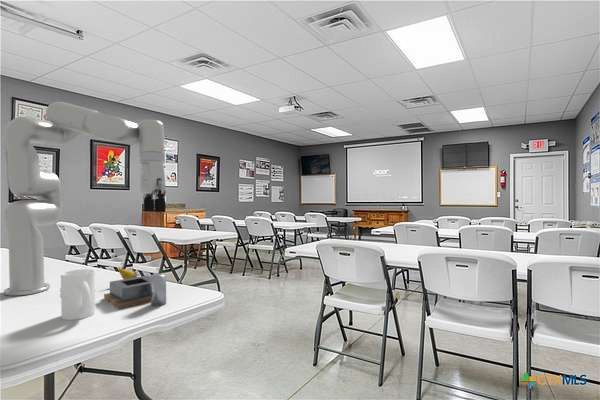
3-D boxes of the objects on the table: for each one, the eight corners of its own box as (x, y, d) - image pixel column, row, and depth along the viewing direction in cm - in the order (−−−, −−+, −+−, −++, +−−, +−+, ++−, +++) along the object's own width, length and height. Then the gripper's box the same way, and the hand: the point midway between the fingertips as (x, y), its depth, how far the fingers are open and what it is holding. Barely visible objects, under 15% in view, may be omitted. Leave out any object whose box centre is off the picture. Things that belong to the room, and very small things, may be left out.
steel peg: (148, 304, 106) (148, 275, 106) (162, 301, 109) (162, 272, 109) (154, 307, 103) (154, 277, 103) (168, 304, 106) (168, 275, 106)
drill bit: (140, 285, 130) (120, 270, 124) (129, 290, 131) (109, 276, 125) (144, 274, 134) (124, 259, 128) (133, 279, 135) (113, 264, 129)
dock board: (104, 298, 112) (104, 294, 112) (148, 289, 122) (148, 285, 122) (119, 309, 102) (119, 303, 102) (165, 298, 112) (165, 293, 112)
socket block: (109, 294, 112) (109, 281, 111) (145, 287, 120) (145, 275, 120) (122, 301, 104) (122, 288, 103) (159, 293, 112) (159, 281, 112)
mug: (69, 326, 89) (68, 280, 88) (57, 315, 97) (56, 272, 96) (104, 318, 95) (103, 274, 94) (90, 308, 103) (89, 268, 102)
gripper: (131, 160, 116) (133, 211, 117) (150, 155, 103) (152, 212, 104) (154, 161, 121) (156, 210, 122) (174, 156, 109) (176, 211, 109)
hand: (154, 211), depth 113 cm, fingers open, 9 cm apart
